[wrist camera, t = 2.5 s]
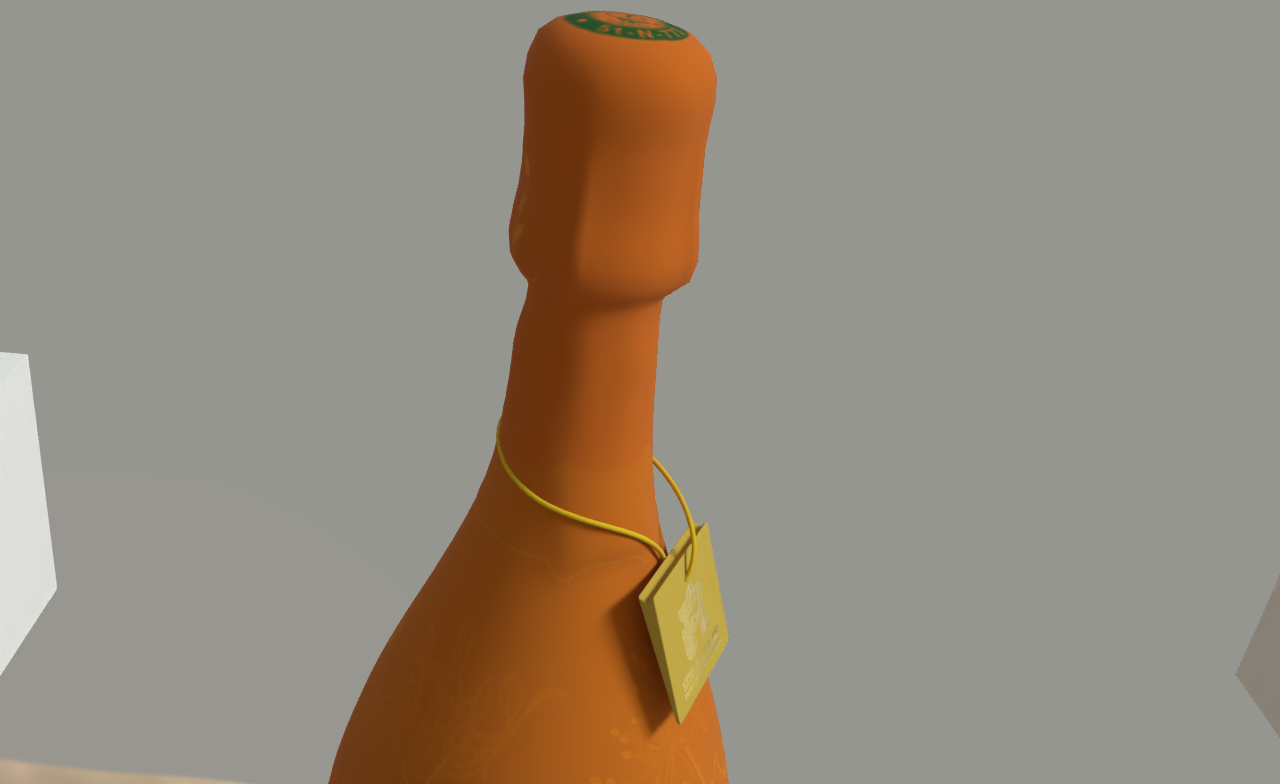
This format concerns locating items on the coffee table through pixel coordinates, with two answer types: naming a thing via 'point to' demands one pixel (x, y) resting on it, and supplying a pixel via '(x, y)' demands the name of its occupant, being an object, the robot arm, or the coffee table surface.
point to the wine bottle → (573, 464)
